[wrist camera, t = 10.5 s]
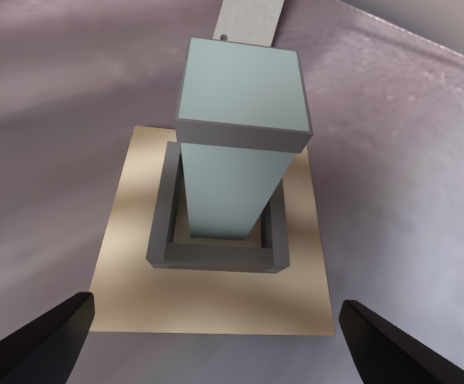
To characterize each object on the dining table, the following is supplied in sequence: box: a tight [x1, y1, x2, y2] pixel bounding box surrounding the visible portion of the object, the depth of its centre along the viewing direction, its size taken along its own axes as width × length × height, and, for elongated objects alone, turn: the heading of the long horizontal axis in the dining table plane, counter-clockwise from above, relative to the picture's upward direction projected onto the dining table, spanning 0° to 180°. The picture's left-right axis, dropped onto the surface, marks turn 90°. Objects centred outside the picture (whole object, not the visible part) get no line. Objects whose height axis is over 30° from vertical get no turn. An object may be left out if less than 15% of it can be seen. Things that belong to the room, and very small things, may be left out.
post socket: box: [89, 126, 335, 336], centre depth 18 cm, size 16×16×4 cm
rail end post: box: [174, 36, 313, 241], centre depth 13 cm, size 4×4×12 cm
